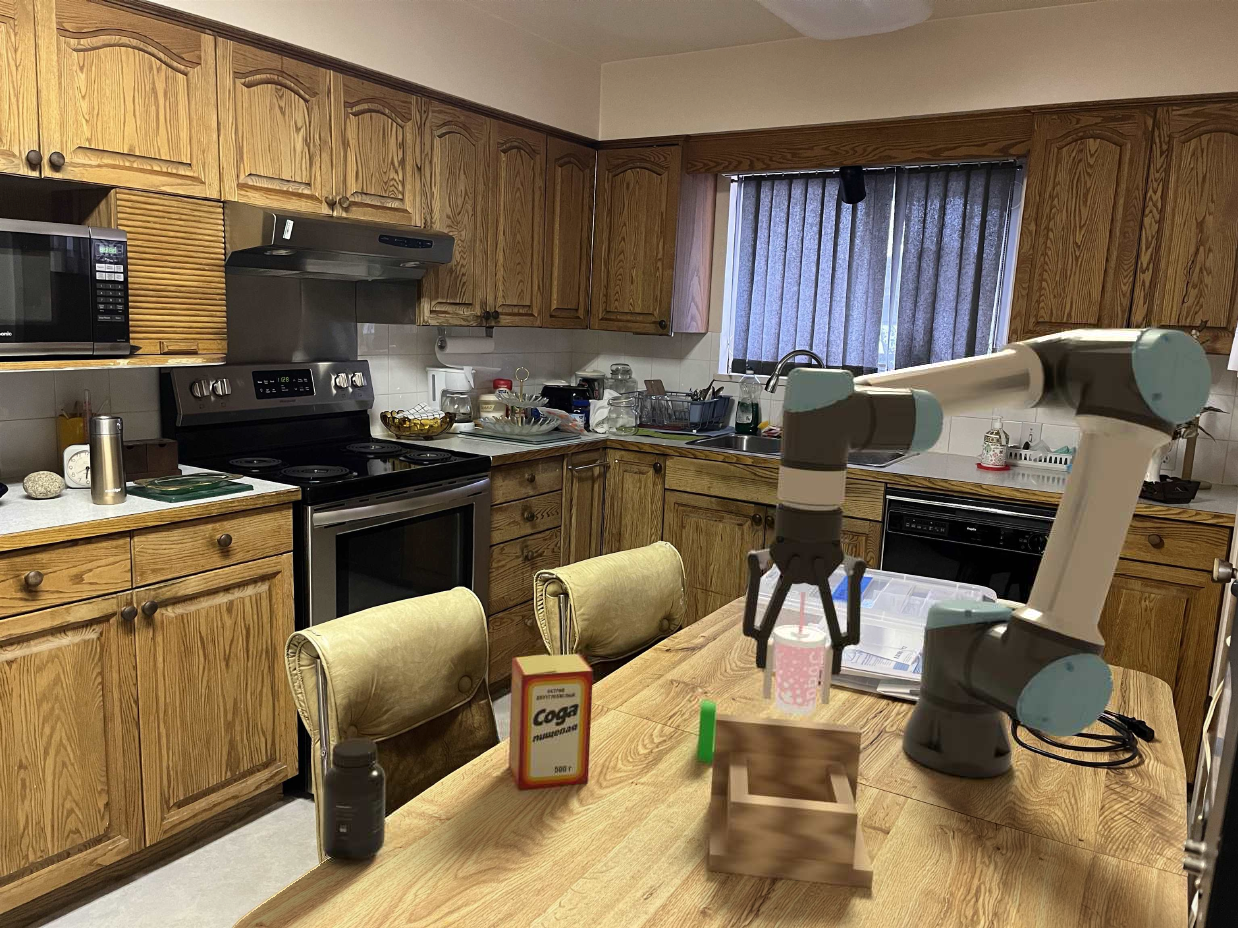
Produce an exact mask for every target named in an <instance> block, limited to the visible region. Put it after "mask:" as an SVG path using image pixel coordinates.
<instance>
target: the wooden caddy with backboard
mask: <svg viewBox="0 0 1238 928" xmlns="http://www.w3.org/2000/svg"><path fill="white" fill-rule="evenodd" d="M715 718H716V722H715V737H714V753H713V762H712V767H711V768H712V771H711V773H712V774H711V785H710V786H711V787H710V799H709V800H710V802H709V804H710V805H709V807H710V810H709V840H708V841H709V845H708V871H709V872H717V873H727V874H735V875H745V876H756V877H764V878H772V879H773V878H774V879H783V880H790V881H791V880H793V881H801V882H812V883H818V884H819V883H822V884H831V885H839V886H840V885H841V886H850V887H858V888H867V889H872V887H873V877H874V869H873V866H872V862H871V859H870V855H869V852H868V850H867V845H866V842H865V837H864V833H863V831H862V828H861V824H860V821H859V816H858V815H859V812H858V809H857V807H856V801H857V790H858V777H859V767H860V754H861V743H862V742H861V741H862V730H861V727H860V725H851V724H842V723H841V724H840V723H831V722H830V723H828V722H817V721H808V720H807V721H806V720H795V719H785V718H771V717H761V716H760V717H758V716H751V715H750V716H748V715H737V714H726V713H717V712H716V714H715Z"/></svg>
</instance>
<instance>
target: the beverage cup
mask: <svg viewBox="0 0 1238 928" xmlns="http://www.w3.org/2000/svg"><path fill="white" fill-rule="evenodd" d="M805 603H806V590H801V592H800V603H799V604H800V605H799V617H798V625H797V624H787V625H786V624H785V625H784V624H783V625H780V626H777V627H774V628H773V640H775V684H774V685H775V689H774V690H775V691H774V692H775V694H774V695H775V697H774V698H775V700H774V702H775V703H774V704H775V707H776V708H777V709H778V710H779V711H781V712H783V713H788V714H793V715H807V714H811V713H813V712H815V708H816V700H817V694H818V693H817V692H818V686H819V679H820V675H821V674H820V673H821V668H822V661H823V648H824V645H825V644H826V643H827V639H828V636H827V633H825V632H824V631H823V630H821V629H818V628H815V627H810V626H807V625H804V617H805V616H804V615H805Z"/></svg>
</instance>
